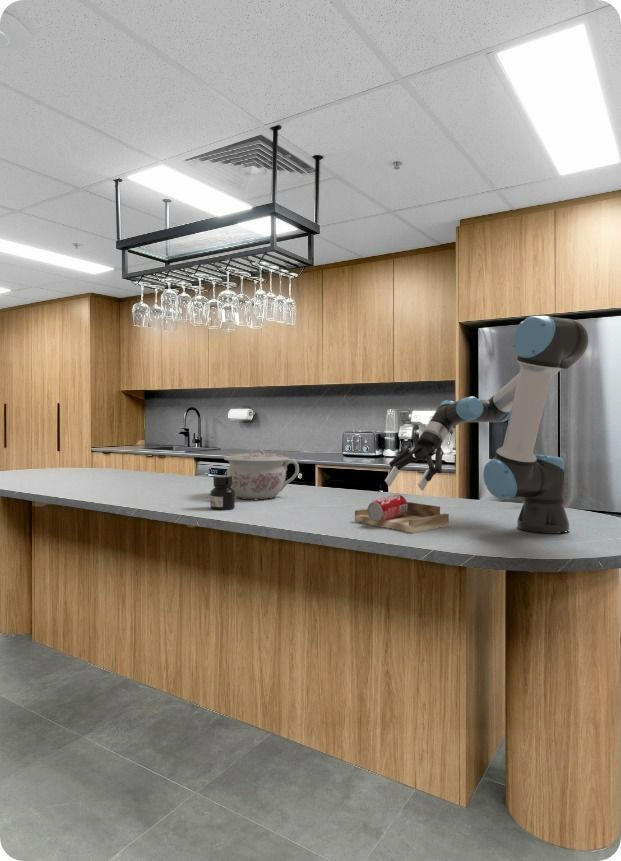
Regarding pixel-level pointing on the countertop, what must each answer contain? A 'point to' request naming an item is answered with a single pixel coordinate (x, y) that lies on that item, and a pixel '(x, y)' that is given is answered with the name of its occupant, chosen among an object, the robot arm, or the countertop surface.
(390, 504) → the soda can
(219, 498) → the ink bottle
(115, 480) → the countertop surface
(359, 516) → the wooden tray
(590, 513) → the countertop surface
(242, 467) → the chamber pot
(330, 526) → the countertop surface
